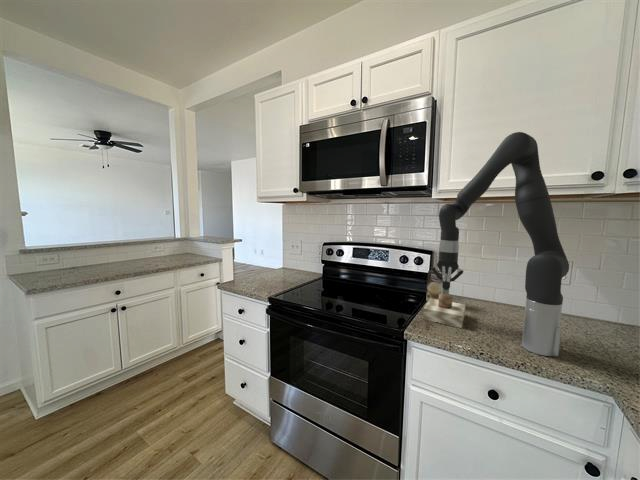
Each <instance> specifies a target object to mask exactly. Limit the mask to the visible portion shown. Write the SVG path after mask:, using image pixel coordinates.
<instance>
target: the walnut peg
mask: <svg viewBox="0 0 640 480" xmlns="http://www.w3.org/2000/svg"><path fill="white" fill-rule="evenodd" d="M452 302H453V295H452V294H443V293H442V294H439V301H438V306H439V307H441V308H446V309H450V308H452Z"/></svg>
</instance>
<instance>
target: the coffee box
mask: <svg viewBox="0 0 640 480" xmlns="http://www.w3.org/2000/svg"><path fill="white" fill-rule="evenodd" d="M438 272H439V273H440V274H441V276H442V272H441V271H440V270H439V269H438ZM447 276H448V274H447V273H446V281H447ZM442 277H443V276H442ZM426 283H427V284H426V300H425V301H427V302H428V301H429V299H430V298H431V299H437V300H439V294H442V293H443V294H449V293H450V288H449V289H448V290H444V288H443V287H442V286H443V281H442V280H441V279H438V277H437V276H436V274H435V273H434V272H433V270H432V269H431V270H428V271H427V281H426ZM449 295H450V294H449Z"/></svg>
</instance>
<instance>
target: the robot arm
mask: <svg viewBox="0 0 640 480" xmlns="http://www.w3.org/2000/svg"><path fill="white" fill-rule="evenodd" d="M509 165H511V166H512V170H513V172H514V177H515V189H514V202H515V207H516V211H517V214H518V217H519V220H520V223H521V224H522V227H523V228H524V229H525V230H526V232H527V234H528V236H529V238H530V240H531V243H532V247H533V251H534V255H533V256H532V257H531V258H529V259H528V261H527V263H526V268H525V283H524V284H525V285H524V289H525V292H526V298H525V307H524V316H523V317H524V318H523V325H522V326H523V327H522V328H523V329H522V335H521V336H522V337H521V346H522V348H524V349H525V350H527V351H529V352H531V353H534V354H536V355H539V356H545V357H556V358H558V357H559V354H560V353H559V352H560V345H561V338H562V337H561V335H562V327H561V319H562V311H563V310H562V308H563V302H564V296H563V294H562V291H561V290H562V280H563V279H562V278H564V277H566V276H567V274H568V273H569V270H570V263H569V260H568V258H567V256H566V253H565V251H564V248H563V246H562V244H561V240H560V237H559V233H558V229H557V228H558V227H557V223H556V217H555V214H554V209H553V205H552V201H551V196H550V194H549V191H548V187H547V183H546V182H545V179H544V176H543V173H542V170H541V166H540V165H541V164H540V157H539V147H538V143H537V140H536V139H535V138H534V137H533V136H532V135H530V134H528V133H526V132H522V131H516V132H514V133H511V134H509V135H507V136H506V137H505V138H504V139H503V140H502V142H501V143H500V144H499V146H497V148H496V149H495V151H494V152H493V153H492V154H491V156H490V158H489V159H488V160H487V161H486V162H485V164H484V165H483V166H482V167H481V169H480V170H479V171H478V172H477V174H476V175H474V176H473V178H472V179H471V180H469V182H468V183H467V184H466V185H464V187H463V188H461V190H460V191H459V192H458V193H457V194H456V195H457V196H456V199H455V200H454V202H453V203H446V204H444V205H442V206H441V207H440V209H439V212H438V220H439V226H440V239H439V240H440V241H439V245H438V259H437V260H438V261H437V263H436V265H435V266H432V267H431V270H433V272H434V273H435V274H436V276H437V277H438V279H441V280H442V281H443V286H442V287H443V288H444V290H448V289H449V290H450V288H451V283H452V282H455V281H456V280H457V279H458V278H459V277H460V276H461V275H462V274H464V272H465V271H464V270H463V269H461V268H460V267H459V263H458V261H459V249H460V245H459V239H460V229H459V227H458V226H457V222H456V221H457V220H460V219H461V218H463V217H464V216H465V215H466V214H467V212H468V211H469V209H470V208H471V206H472V205H473V204H475V202H476V201H477V200H479V199H480V198H481V197H482V196H483V195H484V194H485V193H486V192H487V190H488V189H490V187H491V185H492V184H493V182H495V179H496V178H497V177H498V176H499V174H500V173H501V172H502V171H504V169H505V168H506V167H508V166H509ZM438 270H439V271H441V272H442V276H443V277H442V276H441V274H440V273H439V272H438ZM455 272H456V274H455V275H453V274H454V273H455ZM446 273H447V274H448V276H447V281H446ZM452 275H453V276H452Z"/></svg>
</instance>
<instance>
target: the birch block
mask: <svg viewBox="0 0 640 480" xmlns="http://www.w3.org/2000/svg"><path fill="white" fill-rule="evenodd" d="M438 301H439V300H437V299H431V298H430V299H429V301H427V302H426V303H425V305H424V307H423V309H422V320H423V321H427V322H433V323H436V322H438V323H437V324H441V323H442V324H441V325H446V326H452V327H456V328H459V329H462V328H463V324H464V321H465V320H464V319H465V315H466V304H465V303H461V302H460V303H459V302H454V301H452V308H450V309H446V308H441V307H439V306H438Z"/></svg>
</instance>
